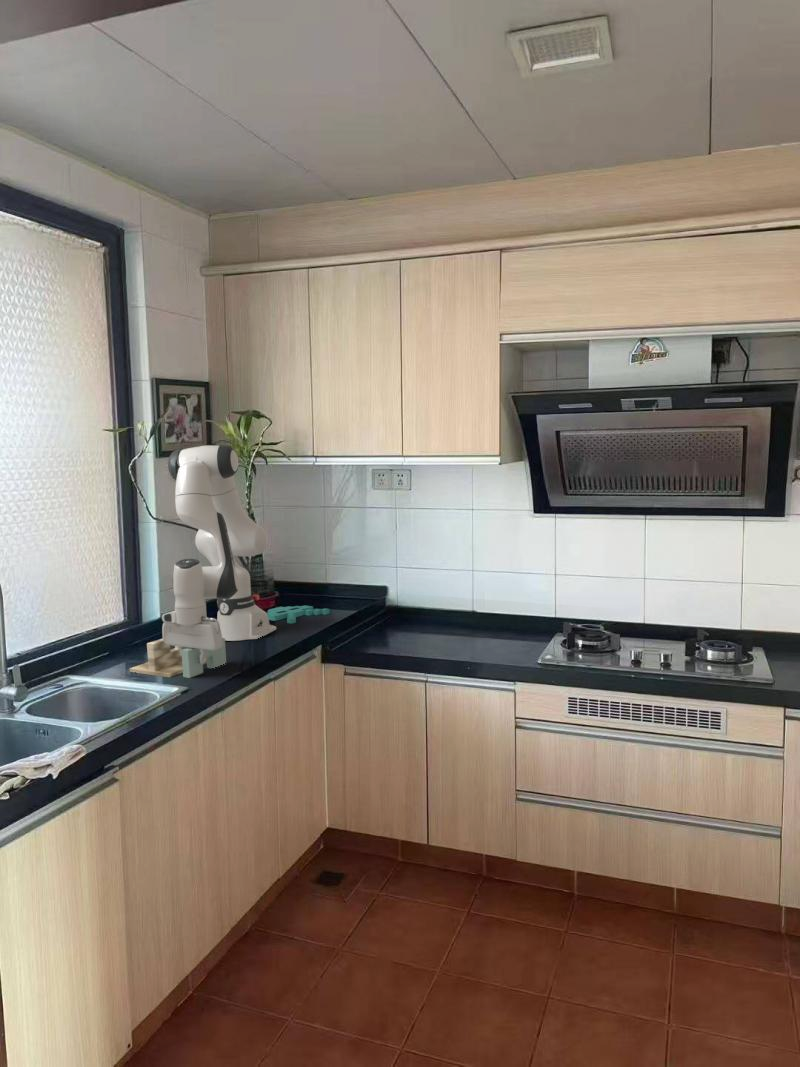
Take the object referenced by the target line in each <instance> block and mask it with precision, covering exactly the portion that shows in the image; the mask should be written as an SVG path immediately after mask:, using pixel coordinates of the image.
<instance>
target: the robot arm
mask: <svg viewBox="0 0 800 1067" xmlns="http://www.w3.org/2000/svg"><path fill="white" fill-rule="evenodd" d="M167 461H168V462H167V464H168V465H167V466H168V467H167V468H168V472H169V474H170V476H171V478H173V480H174V481H175V491H174V494H175V495H174V500H175V501H174V502H175V511H176V514H177V515H176V516H177V517H178V518H179V519H180V520H181V521H182V523H184V524H186V525H188V526H190V527H192V528H196V529H198V531H197V532H196V535H195V538H194V542H195V547H196V548H197V550H198V552H199V553H200V554H201V555H203V556H204V557H205V558H206V559H207V560H208V562H209V563H210V565H211V566H209V565H208V566H202V563H201V560H199V559H197V558H183V559H180V560H178V561H177V562H175V563H174V567H173V575H172V576H173V577H172V592H173V594H174V597H175V600H174V601H175V603H174V609H173V610H171V611H168V612H165V613H163V614H162V615H161V621H162V622H163V623H162V628H161V632H162V633H161V634H162V638H163V641H164V643H165V644H166V645H170V646H171V647H175V646H178V650H179V652H180V654H181V656H182V652H181V650H183V649H186V648H187V647H188V648H196V649H200V652H201V655H200V657H198V663H200V664H203V663H205V662H206V655H207V653H208V650H213V651H214V650H218V649H220V648H221V647H222V646H223V640H222V638H225V642H226V641H231V642H236V641H238V642H239V641H246V640H258V638H259V639H261V638H262V636H263V637H264V636H267V635H268V634H271V633H273V632H274V631H277V626H275V625H273V624H270V620H269V617H268V614H267V613H268V612H266V611H265V610H263V609H262V608H260V607H259V606H258V605H256V602H255V601H259V600H260V594H255V593H253V594H252V587H251V576H250V572H249V571H248V570H247V569H246V568H245V567H243V566H241V565H239V563H238V562H237V561H236V559H235V557H253V556H257V555H262V554H263V553H264V552H265V551H266V550H267V548H268V545H269V536H268V533H267V531H266V529H265V528H264V527H263V526H261V525H260V524H258V523H256V522H255V521H254V520H253V519H252V518H251V517H250V516H249V514H247V512H246V511H245V509H244V507H243V506H242V503H241V499H240V497H239V492H238V489H237V485H236V481H235V477H234V476H235V474H236V473H237V472H238V469H239V457H238V454H237V451H236V450H235V448H234V447H232V446H231V445H227V444H220V445H208V444H207V445H201V446H193V447H188V448H180V449H176V450H173V451H171V453H170V455H169V457H168V460H167ZM206 599H216V604H217V608H218V611H217V616H216V617H217V618H216V617H209V616H207V603H206ZM260 637H261V638H260Z"/></svg>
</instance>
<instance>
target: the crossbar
mask: <svg viewBox="0 0 800 1067" xmlns="http://www.w3.org/2000/svg"><path fill="white" fill-rule="evenodd" d="M222 640H223V646H222V647H221V648H220V649H218V650H214V651H213V650H208V653H207V655H206V658H207V664H206V667H207V669H212V668H214V669H216V668H215V667H217V668H219V667H221V666H220V665H222V666H224V665H226V664H227V654H226V652H227V651H226V650H227V649H226V641H225V638H222ZM181 652H182V667H183V673H182V677H183V678H187V679H190V678H193V677H196V676H198V675H199V676H200V675H201V674H204V665H203V664H200V663H198V657H200V655H201V652H200V649H196V648H186V649H183V650H181ZM225 663H226V664H225ZM223 664H224V665H223ZM218 666H219V667H218Z"/></svg>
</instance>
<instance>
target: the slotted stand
mask: <svg viewBox="0 0 800 1067" xmlns="http://www.w3.org/2000/svg"><path fill="white" fill-rule="evenodd" d="M146 648H147V650H146V651H147V662H144V663H142V664H138V665H136V666H133V667H129V672H130V673H135V672H136V673H137V674H144V675H149V676H150V675H152V676H157V677H158V676H159V677H164V678H172V677H176V676H178V675H181V674H183V667H182V656H181V654H180V652H179V650H178V646H174V648H172V649H171V645H166V644H165V643H164V641H163V637H162V638H160V639H157V640H153V641H150V642H147V643H146ZM187 648H188V647H187ZM205 665H207V658H206V662H205V663H203V666H205Z"/></svg>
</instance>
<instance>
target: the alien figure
mask: <svg viewBox="0 0 800 1067" xmlns="http://www.w3.org/2000/svg"><path fill="white" fill-rule="evenodd" d="M266 613H267V614H268V617H269V621H273V622H276V621H280V620H283V619H286V624H295V623H296V622H297V618H298V617H303V616H313V615H314V616H318V615H324V616H325V615H329V614H330V608H321V609H320V608H315V609H314V606H311V605H295V606H291V605H290V606H285V607H284V606H279V607H275V608H270V609H268V610H267V612H266Z"/></svg>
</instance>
